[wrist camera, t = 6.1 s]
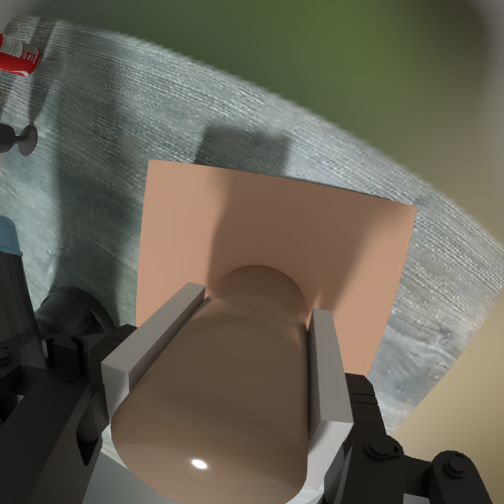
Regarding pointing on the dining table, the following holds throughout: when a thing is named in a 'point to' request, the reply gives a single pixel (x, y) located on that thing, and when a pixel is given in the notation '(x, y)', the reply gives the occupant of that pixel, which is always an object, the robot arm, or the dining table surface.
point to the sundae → (17, 139)
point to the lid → (250, 324)
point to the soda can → (18, 56)
